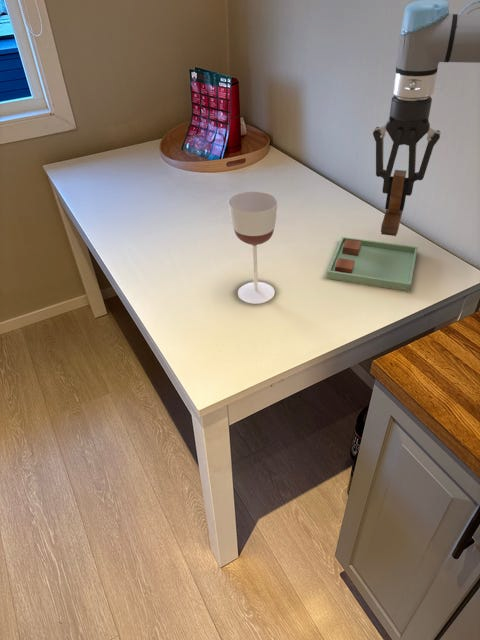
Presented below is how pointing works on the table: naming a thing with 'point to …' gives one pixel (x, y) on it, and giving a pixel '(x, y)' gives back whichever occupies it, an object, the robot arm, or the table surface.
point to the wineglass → (254, 235)
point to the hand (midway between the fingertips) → (394, 207)
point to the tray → (377, 264)
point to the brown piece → (394, 205)
